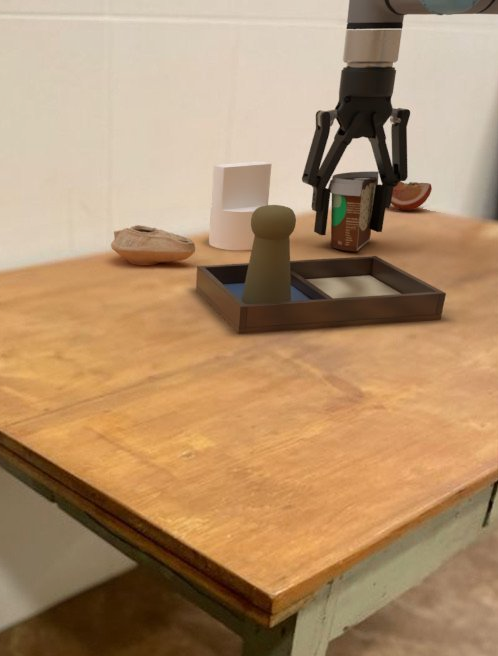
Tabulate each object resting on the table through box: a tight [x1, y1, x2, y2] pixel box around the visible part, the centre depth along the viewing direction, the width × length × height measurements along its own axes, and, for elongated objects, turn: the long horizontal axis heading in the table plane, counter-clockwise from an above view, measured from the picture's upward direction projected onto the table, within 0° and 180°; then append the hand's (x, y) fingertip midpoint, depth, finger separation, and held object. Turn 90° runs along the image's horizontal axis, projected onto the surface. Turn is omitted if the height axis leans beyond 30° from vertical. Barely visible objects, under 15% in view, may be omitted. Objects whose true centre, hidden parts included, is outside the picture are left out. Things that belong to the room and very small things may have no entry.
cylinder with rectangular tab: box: [208, 160, 272, 251], centre depth 126 cm, size 9×9×12 cm
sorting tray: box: [195, 255, 447, 335], centre depth 101 cm, size 25×18×4 cm
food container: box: [327, 171, 379, 252], centre depth 125 cm, size 12×6×10 cm, turn 153°
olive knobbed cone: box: [242, 204, 297, 304], centre depth 97 cm, size 6×6×11 cm
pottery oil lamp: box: [110, 224, 196, 266], centre depth 118 cm, size 9×12×7 cm
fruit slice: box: [391, 181, 433, 211], centre depth 152 cm, size 8×7×5 cm
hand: (347, 231), depth 126 cm, fingers closed on food container, 9 cm apart
